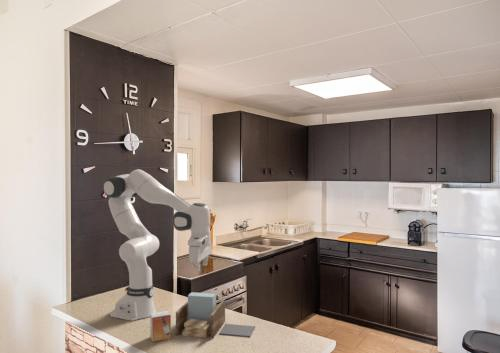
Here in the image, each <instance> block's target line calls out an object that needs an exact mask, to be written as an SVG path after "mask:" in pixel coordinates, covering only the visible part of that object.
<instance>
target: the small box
mask: <svg viewBox="0 0 500 353" xmlns="http://www.w3.org/2000/svg"><path fill="white" fill-rule="evenodd" d="M149 319H150V320H149V322H150V325H149V326H150V327H149V328H150V329H149V330H150V333H149V334H150V339H151V342H152V343H154V342H158V341H164V340H170V339H171V338H172V334H171V333H172V332H171V330H172V326H171V325H172V323H171V320H172V319H171V313H170V311H169V310H164V311H163V310H162V311H158V312H157V311H156V313H150V317H149Z"/></svg>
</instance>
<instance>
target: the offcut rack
mask: <svg viewBox="0 0 500 353" xmlns="http://www.w3.org/2000/svg"><path fill="white" fill-rule="evenodd" d="M187 320H188V300H187V301H186V302H185V303H184V304H183V305H182V306H181V307H179V309H177V310H176V312H175V335H176V336H179V335H180V334H182V333H183V330H184V329H185V327H184V323H185V322H186V321H187ZM225 322H226V300H224V299H223V300H221V302H219V304H218V305H216V309H215V310H214V311H213V312H212V313H211V315H210V329H211V332H210V339H214V338H215V336H216V335H217V334H218V333H219V332H220V329H222V327H223V326H224V325H225Z"/></svg>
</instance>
